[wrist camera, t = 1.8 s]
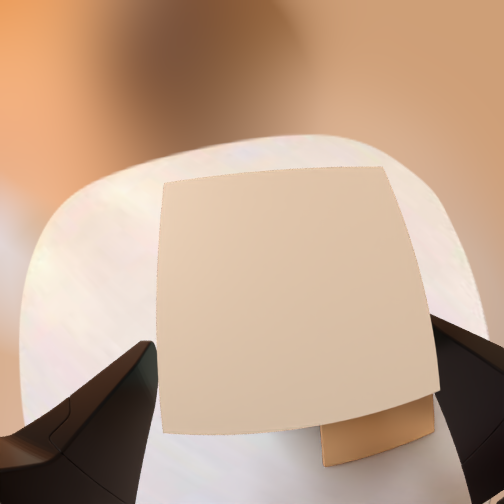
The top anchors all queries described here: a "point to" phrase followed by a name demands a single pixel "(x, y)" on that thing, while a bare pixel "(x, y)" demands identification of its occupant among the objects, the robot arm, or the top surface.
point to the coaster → (376, 431)
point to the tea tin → (287, 302)
